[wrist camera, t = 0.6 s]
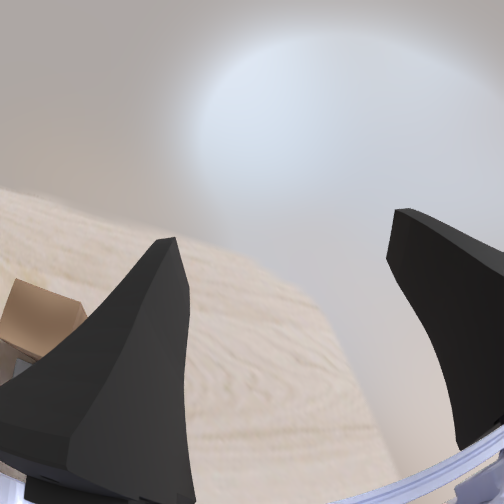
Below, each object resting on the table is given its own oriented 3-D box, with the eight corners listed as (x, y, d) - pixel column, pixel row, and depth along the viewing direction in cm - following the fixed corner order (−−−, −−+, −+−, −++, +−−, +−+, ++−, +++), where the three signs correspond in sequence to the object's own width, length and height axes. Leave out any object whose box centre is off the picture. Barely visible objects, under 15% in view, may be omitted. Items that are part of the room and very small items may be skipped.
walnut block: (85, 378, 20) (63, 364, 13) (33, 358, 19) (-5, 335, 12) (95, 334, 22) (80, 302, 16) (45, 316, 21) (15, 278, 14)
